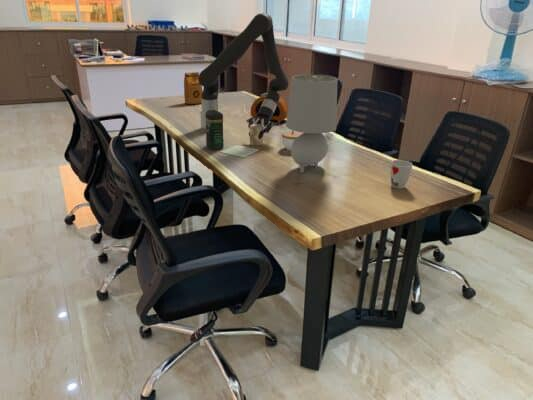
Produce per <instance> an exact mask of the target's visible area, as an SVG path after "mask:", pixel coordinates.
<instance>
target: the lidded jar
mask: <svg viewBox="0 0 533 400" xmlns="http://www.w3.org/2000/svg"><path fill="white" fill-rule="evenodd" d="M301 134H303V133H302V132H297V131H293V130H291V131H284V132H282V134H281V136H282V137H281V141H282V145H283V146H284V148H285V150H286V151H290V152H291V147H292V144H293V142H294V140H295V139H296V138H297V137H298V136H300V135H301Z"/></svg>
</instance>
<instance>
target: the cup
mask: <svg viewBox="0 0 533 400" xmlns="http://www.w3.org/2000/svg"><path fill="white" fill-rule="evenodd" d="M412 169H413V163H412V162H410V161H408V160H402V159H395V160H394V159H393V160H391V166H390V184H391V187H392V188H394V189H399V190H400V189H404V188H405V187H406V185H407V184H408V181H409V178H410V176H411V172H412Z"/></svg>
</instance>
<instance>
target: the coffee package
mask: <svg viewBox="0 0 533 400" xmlns="http://www.w3.org/2000/svg"><path fill="white" fill-rule="evenodd" d="M199 74H200V72H199V71H195V72H194V71H193V72H185V73H184V77H183V91H184V93H183V94H184V103H185V104H187V105H198V104H202V100H201V94H202V92H203V86H202V85H200V83H199V80H198V77H199Z"/></svg>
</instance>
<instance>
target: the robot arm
mask: <svg viewBox="0 0 533 400" xmlns="http://www.w3.org/2000/svg"><path fill="white" fill-rule="evenodd" d="M273 22H274V21H273V18H272V16H271V15H270V14H268V13H267V12H259V13H257V14H256V15H255V16H254V17H253V18H252V20H251V21H250V22H249V23H248V24H247V26H246V27H245V28H244V29H243V30H242V31H241V32H240V33H239V34H238V35H236V37H235V38H233V39H232V40H231V41H229V43H228V44H227V45H226V46H225V48H224V49H223V50H222V51H221V52H220V53H219V54H218V55H217V56H216V58H215V59H214V60H213V61H212V62H211V63H210V64H209V65H208V66H207V67H205V68H204V69H203V70H202V71H200V72H199V77H198V80H199V83H200V85H202V91H203V92H202V94H201V100H202V103H201V111H200V127H201V129H203V130H205V131H206V119H205V115H206V112H207V111H208V110H216V111H218V112H219V93H220V75H221V74H223V73H224V72H225V71H226V70H228V69H229V68H231V67H232V66H233V65H235V64H236V63H237V62H239V60H240V59H241V58H242V57H243V56H244V55H245V54H246V53H247V51H248V50H249V48H250V47H251V45H252V44H253V43H254V42H255V41H256V40H257V39H258V38H260V37H261V39H262V42H263V48H264V58H265V62H266V66H267V71H268V73H269V75H273V76H274V78H272V79H270V81H269V84H268V89H267V92H266V93H267V96H266V98H265V100H264V101H263V103H262V105H261V107H260V109H259V112H258V114H257V117H256V118H255V117H250V118H249V122H248V129H250V125H253V124H260V125H262V129H261V131H260V133H259V136H258V138H259V139H261V138H262V137H263V138H264V134H268V133H269V132H270V131H271V129H272V128H273V126H274V125H275V124H274V122H273V121H272V120H271V118H272V115H273V113H274V111H275V109H276V105H277V103H278V101H279V99H280V97H281V95H280V93H278V92H282V91H286V90H287V89H288V87H289V80H288V77H287V76H286V74H285V71H284V70H283V67H282V65H281V61H280V57H279V54H278V49H277V45H276V40H275V39H276V38H275V32H274V24H273ZM248 137H250V131H249V132H248Z"/></svg>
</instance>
